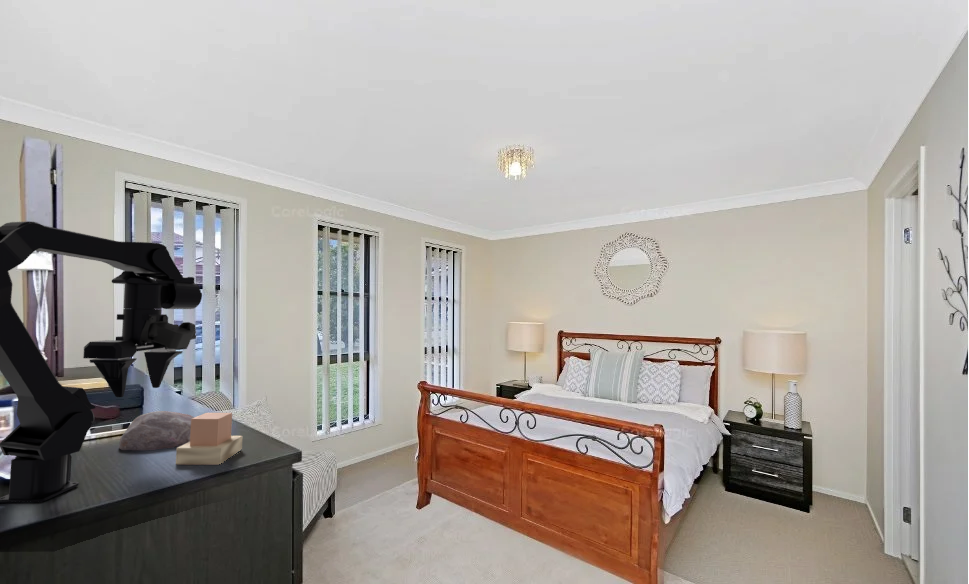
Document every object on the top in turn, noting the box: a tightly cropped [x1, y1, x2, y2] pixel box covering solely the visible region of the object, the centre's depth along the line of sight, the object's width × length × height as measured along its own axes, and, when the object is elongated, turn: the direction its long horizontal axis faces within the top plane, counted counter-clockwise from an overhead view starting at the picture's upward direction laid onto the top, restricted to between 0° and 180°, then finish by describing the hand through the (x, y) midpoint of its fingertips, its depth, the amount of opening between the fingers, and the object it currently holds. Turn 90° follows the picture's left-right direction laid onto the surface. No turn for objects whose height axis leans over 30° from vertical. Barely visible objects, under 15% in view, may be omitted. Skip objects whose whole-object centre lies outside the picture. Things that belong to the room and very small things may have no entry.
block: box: [190, 412, 233, 446], centre depth 85 cm, size 5×5×5 cm
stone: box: [118, 410, 196, 451], centre depth 95 cm, size 17×10×10 cm
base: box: [175, 435, 243, 466], centre depth 85 cm, size 8×8×3 cm
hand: (138, 392), depth 82 cm, fingers open, 9 cm apart
